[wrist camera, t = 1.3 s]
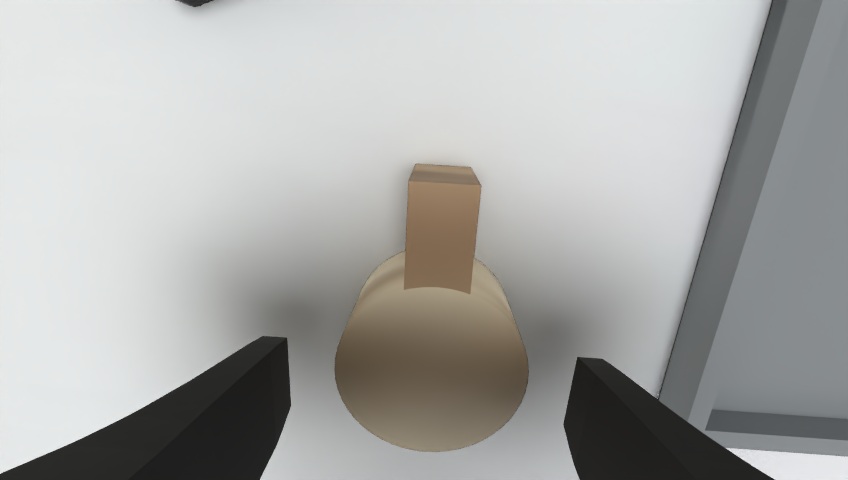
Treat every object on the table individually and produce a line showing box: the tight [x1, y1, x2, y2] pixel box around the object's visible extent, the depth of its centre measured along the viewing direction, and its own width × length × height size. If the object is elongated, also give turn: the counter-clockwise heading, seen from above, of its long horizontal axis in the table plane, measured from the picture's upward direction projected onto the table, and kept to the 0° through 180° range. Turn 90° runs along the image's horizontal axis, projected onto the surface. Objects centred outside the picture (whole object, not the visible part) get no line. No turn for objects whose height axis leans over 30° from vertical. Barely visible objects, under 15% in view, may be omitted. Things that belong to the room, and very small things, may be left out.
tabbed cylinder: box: [335, 164, 529, 452], centre depth 11 cm, size 8×5×3 cm, turn 177°
